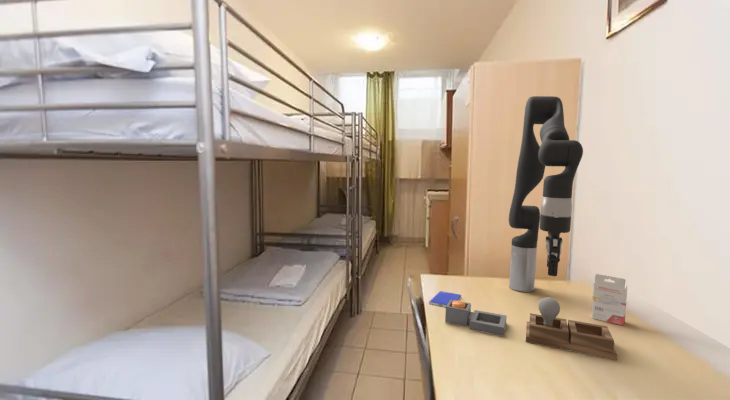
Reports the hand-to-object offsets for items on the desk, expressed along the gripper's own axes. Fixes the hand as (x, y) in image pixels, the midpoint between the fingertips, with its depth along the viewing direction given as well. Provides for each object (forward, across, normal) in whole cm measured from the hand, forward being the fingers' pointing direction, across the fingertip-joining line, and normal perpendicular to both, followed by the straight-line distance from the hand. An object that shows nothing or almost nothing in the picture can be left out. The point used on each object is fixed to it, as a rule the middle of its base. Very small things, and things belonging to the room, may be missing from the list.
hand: (551, 271), depth 101 cm
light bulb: (+18, 0, 0) cm, 18 cm away
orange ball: (+17, 0, -25) cm, 30 cm away
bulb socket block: (+19, 0, -20) cm, 27 cm away
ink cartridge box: (+20, -23, +18) cm, 35 cm away
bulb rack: (+19, 0, +5) cm, 20 cm away
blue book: (+20, -15, -32) cm, 41 cm away
